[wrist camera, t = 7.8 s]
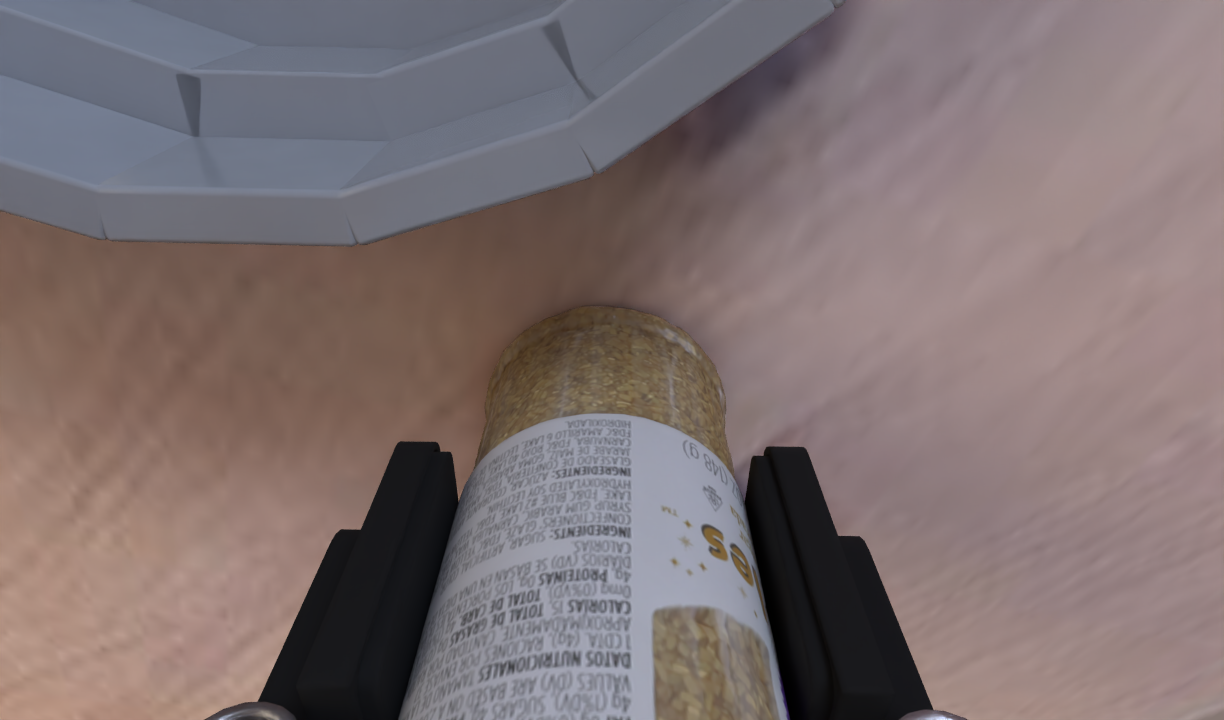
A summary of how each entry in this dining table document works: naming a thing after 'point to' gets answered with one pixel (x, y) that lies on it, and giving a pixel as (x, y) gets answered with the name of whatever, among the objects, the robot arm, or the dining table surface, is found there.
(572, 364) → the sprinkles bottle
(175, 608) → the dining table surface
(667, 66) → the pan
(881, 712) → the robot arm
